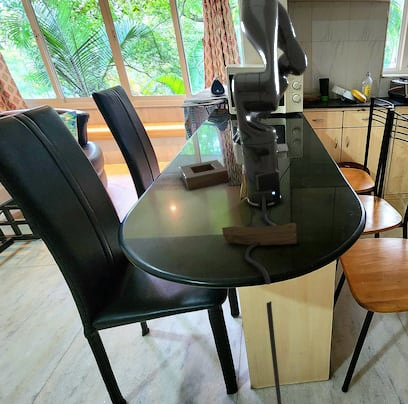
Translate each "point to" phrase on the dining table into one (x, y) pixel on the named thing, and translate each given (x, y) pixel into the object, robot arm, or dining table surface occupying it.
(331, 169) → the dining table surface
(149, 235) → the dining table surface
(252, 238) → the wood plank
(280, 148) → the platform
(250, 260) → the robot arm
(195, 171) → the stand
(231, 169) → the dining table surface
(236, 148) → the eye dropper bottle
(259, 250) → the dining table surface
